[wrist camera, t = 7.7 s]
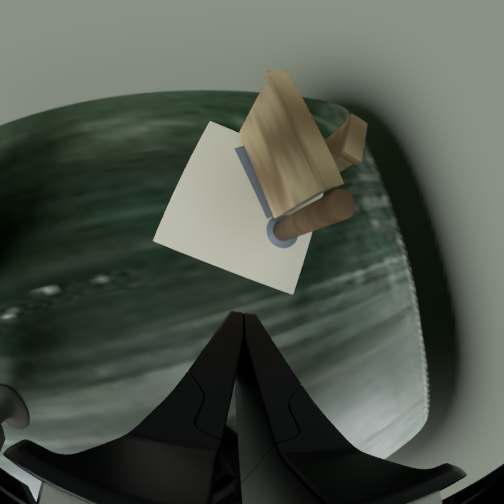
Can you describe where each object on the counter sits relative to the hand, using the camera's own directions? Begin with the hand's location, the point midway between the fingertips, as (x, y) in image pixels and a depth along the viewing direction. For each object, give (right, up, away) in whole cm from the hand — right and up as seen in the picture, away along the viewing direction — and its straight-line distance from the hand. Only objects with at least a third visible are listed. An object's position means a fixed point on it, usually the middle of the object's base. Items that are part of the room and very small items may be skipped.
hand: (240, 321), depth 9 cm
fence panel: (+1, +9, +14) cm, 17 cm away
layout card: (0, +6, +14) cm, 16 cm away
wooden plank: (+4, +7, +15) cm, 17 cm away
